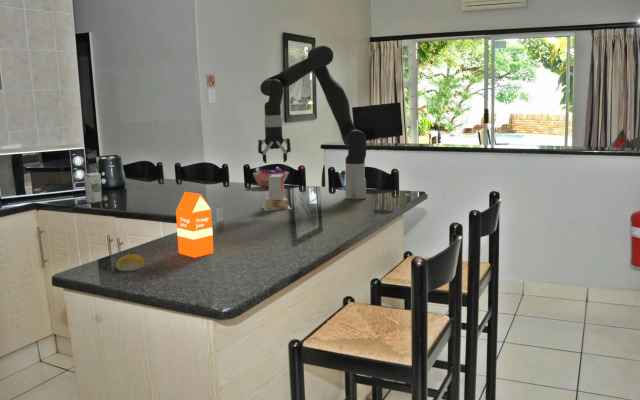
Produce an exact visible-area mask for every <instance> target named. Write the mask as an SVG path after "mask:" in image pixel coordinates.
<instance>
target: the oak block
mask: <svg viewBox="0 0 640 400" xmlns="http://www.w3.org/2000/svg"><path fill="white" fill-rule="evenodd" d="M264 199H265V203H264V204H265V205H264V206H266V208H267V209H268V210H267V211H278V210H277V209H282V210H289V209H288V205H289V200H288V198H287V197H286V196H284V198H283V199H282V200H269V197H264Z"/></svg>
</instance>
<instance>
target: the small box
mask: <svg viewBox="0 0 640 400" xmlns="http://www.w3.org/2000/svg"><path fill="white" fill-rule="evenodd" d="M268 181H269V187H268V198H269V200H282V199H283V198H284V197H285V181H284V175H271V176H270V177H268Z"/></svg>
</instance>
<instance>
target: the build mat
mask: <svg viewBox="0 0 640 400" xmlns="http://www.w3.org/2000/svg"><path fill="white" fill-rule="evenodd" d="M261 207H262V209H263V210H264V211H266V212H267V211H269V210H268V209H267V208H266V206H265V205H264V206H261ZM279 210H280V211H281V210H283V209H277V210H276V211H279ZM287 210H292V208H291V206H290V205H289V204H288V209H287Z"/></svg>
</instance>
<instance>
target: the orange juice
mask: <svg viewBox="0 0 640 400" xmlns="http://www.w3.org/2000/svg"><path fill="white" fill-rule="evenodd" d="M175 217H176V232H177V234H176V235H177V246H178V248H177V249H178V254H180V255H182V256H183V255H184V256H187V257H191V258H194V259H196V258H199V257H202V256H206V255H210V254H213V253H214V237H213V236H214V235H213V234H214V233H213V220H212V218H213V217H212V209H211V206H209V204H208V203H207V201H206V199H205V198H204V197H203V196H202V194H201V193H195V192H189V191H184V193H183V195H182V198H180V201H179V203H178V206H177V207H176V209H175Z"/></svg>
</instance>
